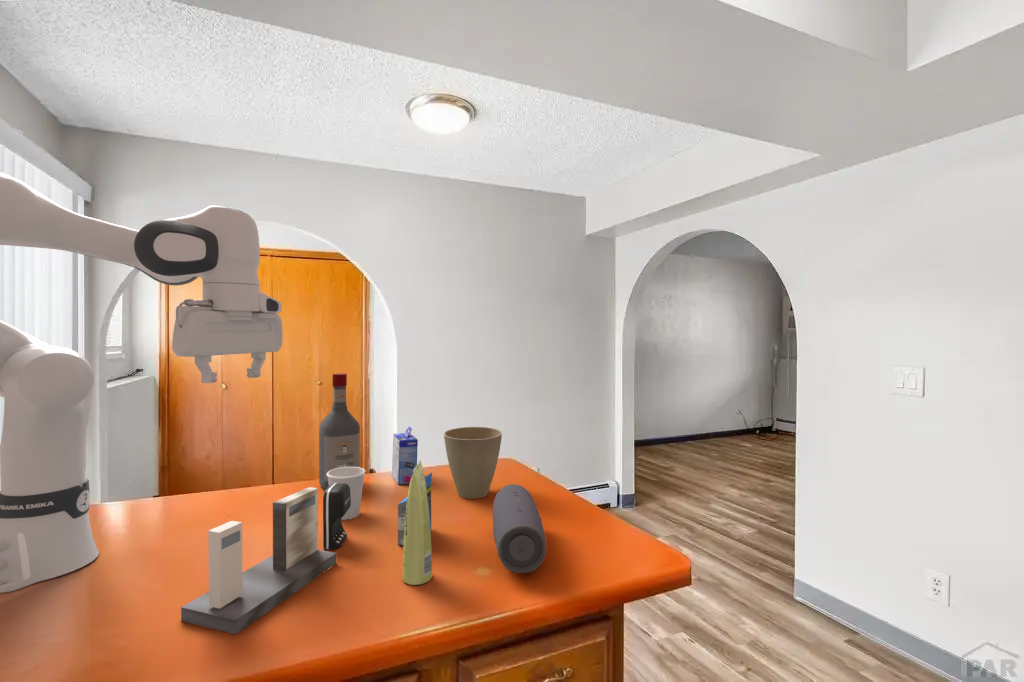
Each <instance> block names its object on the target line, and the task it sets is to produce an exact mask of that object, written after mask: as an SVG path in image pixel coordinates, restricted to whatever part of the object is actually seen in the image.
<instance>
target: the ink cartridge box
mask: <svg viewBox="0 0 1024 682" xmlns="http://www.w3.org/2000/svg"><path fill="white" fill-rule="evenodd" d="M412 430H413V429H412V427H410V426H408V428H407V429H406V430H405V431H404V433H403V432H402V433H393V435H392V458H391V460H392V461H391V476H392V478H393V479H394V481H395V482H396V483H397V485H406V484H407V485H408V484H409V485H410V481H411V478H412V475H413V470H414V469H415V467H416V466H417V464H418V442H419V441H418V440H419V439H418V438H417V437H415V436H414V435H413V434H412V433H411V432H412Z"/></svg>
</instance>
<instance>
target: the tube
mask: <svg viewBox="0 0 1024 682" xmlns="http://www.w3.org/2000/svg"><path fill="white" fill-rule="evenodd" d="M425 477H426V476H425V472H424V467H423V464H422V460H421V459H420V460H419V461H418V462H417V466H416V467H415V469H414V470H413V475H412V478H411V481H410V484H409V487H408V491H407V497H408V498H407V506H406V515H405V528H404V546H402V547H403V549H402V550H403V551H402V556H403V557H402V581H403V582H405V584H408V585H411V586H418V585H423V584H425V583H427V582H429V581H430V580H431V579H432V577H433V566H432V565H433V564H432V563H433V562H432V561H433V559H432V557H433V556H432V539H431V537H432V536H431V534H432V533H431V530H430V518H429V508H428V499H427V491H426V483H425Z"/></svg>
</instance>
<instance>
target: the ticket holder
mask: <svg viewBox="0 0 1024 682" xmlns="http://www.w3.org/2000/svg"><path fill="white" fill-rule="evenodd" d="M334 564H336V565H337V552H333V551H328V550H322V549H319V488H318V487H317V488H316V487H309V486H308V487H306V488H303V489H302V490H299V491H296V492H294V493H291V494H290V495H287V496H285V497H283V498H280V499H278V500H275V501H272V555H271V556H269V557H267V558H265V559H264V560H262V561H260V562H258V563H256V564H255V565H253V566H252V567H250V568H247V569H246V570H244V571H242V595H241V596H240V597H238V598H236V599H235V600H233V601H231V602H230V603H228V604H227V605H225V606H223V607H222V608H220V609H219V608H214V607H210V606H209V591H208V592H205V593H204V594H202V595H200V596H198V597H197V598H194V599H193V600H191V601H189V602H188V603H186V604H184V605H183V606H181V607H180V617H181V618H180V621H181V622H183V623H189V624H193V625H195V626H200V627H204V628H209V629H212V630H216V631H221V632H225V633H229V634H233V635H237V634H239V632H241V631H243V630H244V629H246V628H247V627H249V626H250V625H251V624H253V623H254V622H255V621H257V620H258V619H259V618H261V617H262V616H264V615H265V614H267V613H268V612H269V611H271V610H272V609H274V608H275V607H277V606H278V605H280V604H282V603H283V602H284V601H285V600H287V599H289V598H290V597H291V596H292V595H294V594H295V593H297V592H298V591H300V590H301V589H303V588H304V587H306V586H307V585H308V584H310V583H311V582H313V581H314V580H315V579H317V578H318V577H320V576H321V575H323V574H324V573H325V572H324V571H326V570H327V569H328V568H330V567H331V566H333V565H334ZM334 566H335V565H334ZM334 566H333V567H334ZM331 568H332V567H331ZM331 568H330V569H331ZM328 570H329V569H328ZM328 570H327V571H328ZM327 571H326V572H327ZM323 572H324V573H323ZM322 573H323V574H322ZM320 574H321V575H320ZM319 575H320V576H319ZM316 577H317V578H316ZM313 579H314V580H313ZM312 580H313V581H312ZM309 582H310V583H309Z"/></svg>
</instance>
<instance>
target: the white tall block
mask: <svg viewBox="0 0 1024 682" xmlns="http://www.w3.org/2000/svg"><path fill="white" fill-rule="evenodd" d="M207 532H208V533H207V534H208V536H207V537H208V539H207V540H208V542H207V544H208V592H209V606H210V607H214V608H219V609H220V608H222V607H223V606H225V605H227V604H228V603H230V602H231V601H233V600H235V599H236V598H238V597H240V596H241V595H242V573H243V522H241V521H236V520H230V521H228V522H225V523H224V524H221V525H219V526H216V527H214V528H212V529H211V528H210V529H209V530H208V531H207Z"/></svg>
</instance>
